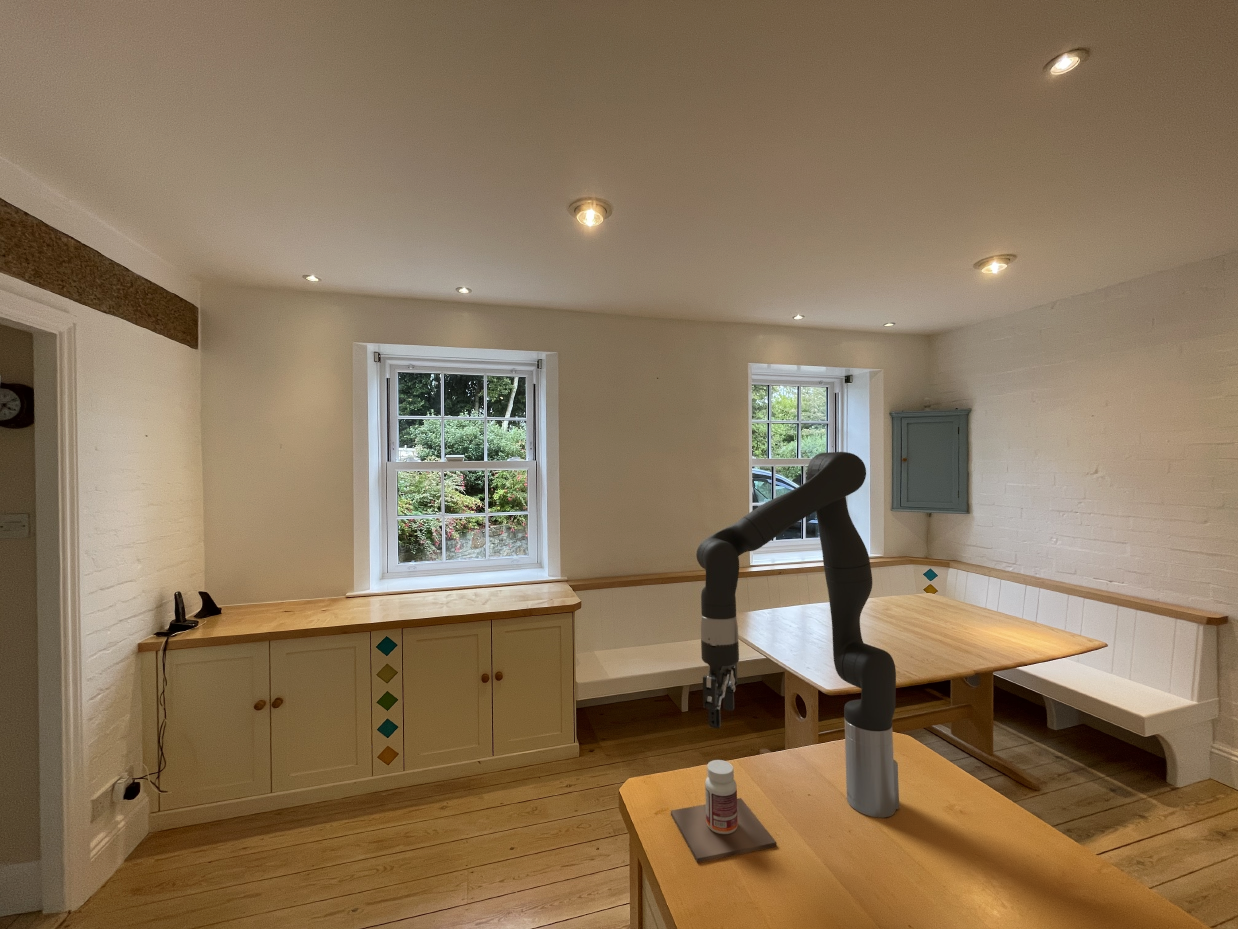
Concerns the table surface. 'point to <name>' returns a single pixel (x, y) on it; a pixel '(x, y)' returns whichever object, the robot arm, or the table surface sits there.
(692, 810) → the walnut board
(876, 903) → the table surface
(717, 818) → the pill bottle
